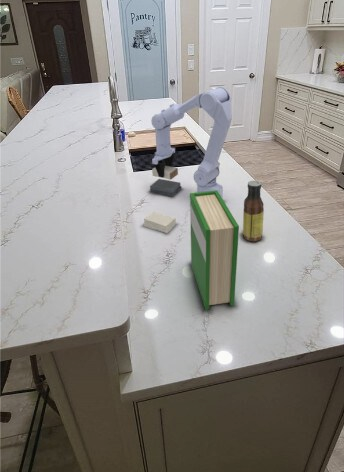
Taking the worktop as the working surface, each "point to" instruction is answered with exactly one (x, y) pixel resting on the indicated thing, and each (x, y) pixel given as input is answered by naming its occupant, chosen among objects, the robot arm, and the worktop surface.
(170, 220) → the cream rectangular block
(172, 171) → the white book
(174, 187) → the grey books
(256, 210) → the sauce bottle
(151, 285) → the worktop surface
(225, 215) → the hardback book
